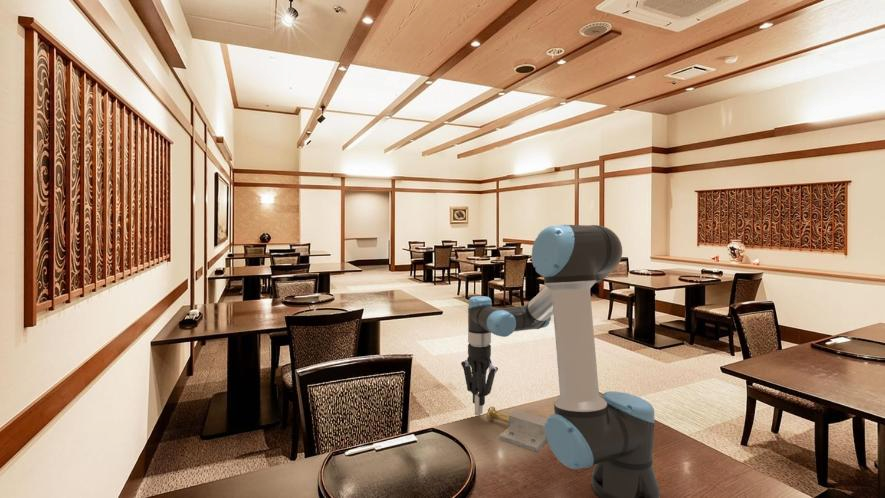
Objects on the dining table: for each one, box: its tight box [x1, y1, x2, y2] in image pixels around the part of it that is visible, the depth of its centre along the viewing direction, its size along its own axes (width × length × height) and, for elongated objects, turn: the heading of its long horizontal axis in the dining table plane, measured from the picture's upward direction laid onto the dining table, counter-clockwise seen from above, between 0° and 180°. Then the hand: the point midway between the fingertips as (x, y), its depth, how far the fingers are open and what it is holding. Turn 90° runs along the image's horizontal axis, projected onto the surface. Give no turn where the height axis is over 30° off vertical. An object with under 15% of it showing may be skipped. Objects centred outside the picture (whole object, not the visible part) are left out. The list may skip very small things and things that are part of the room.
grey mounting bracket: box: [498, 409, 548, 453], centre depth 130 cm, size 12×17×5 cm
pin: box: [486, 406, 510, 424], centre depth 134 cm, size 13×4×4 cm, turn 54°
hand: (478, 413), depth 141 cm, fingers closed
